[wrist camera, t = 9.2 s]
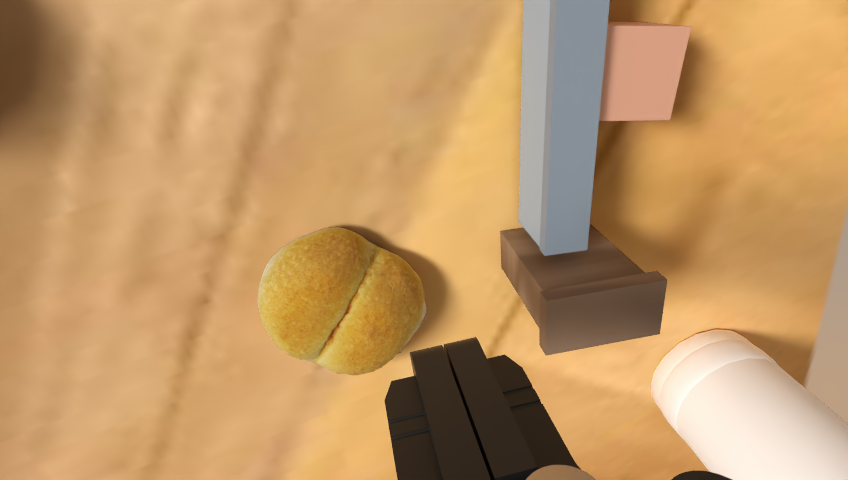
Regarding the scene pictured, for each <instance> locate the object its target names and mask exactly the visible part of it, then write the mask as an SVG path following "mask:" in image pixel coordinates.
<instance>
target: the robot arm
mask: <svg viewBox="0 0 848 480" xmlns="http://www.w3.org/2000/svg"><path fill="white" fill-rule="evenodd" d="M410 356H411V362H412V367H413V373H414V376H412V377H408V378H403V379H399V380H395V381H391V384H390V387H389V390H388V393H387V395H386V398H385V405H386V411H387V417H388V423H389V430H390V436H391V442H392V448H393V454H394V460H395V466H396V472H397V478H398V480H595V479H594V478H593V477H592V476H591V475H589V474H588V473H586V472H584V471H582V470H581V469H580V468H579V467H578V466H577V464H576V463H575V461H574V460H573V458H572V456H571V454H570V453H569V451H568V449H567V447H566V445H565V444H564V442H563V440H562V438H561V436H560V435H559V433H558V431H557V429H556V427H555V426H554V424H553V422H552V420H551V418H550V417H549V415H548V413H547V411H546V409H545V408H544V406H543V404H541V402H540V399H539V397H538V395H537V393H536V391H535V390H534V389H533V388H532V384H531V383H530V381H529V379H528V377H527V375H526V374H525V372H524V370H523V368H522V367H521V366H519V365H518V364H517V363H515V362H514V361H513V360H511V359H510V358H509V357H507V356H506V355H501V356H497V357H493V358H488V359H487V358H486V356H485V354H484V352H483V350H482V348H481V345H480V343H479V341H478V339H477V338H476V337H474V338H470V339H466V340H461V341H457V342H453V343H448V344H444V348H443V346H442V345H440V346H436V347H431V348H427V349H423V350H418V351H414V352H410ZM672 480H732V479H730V478H727V477H725V476H722V475H720V474H716V473H712V472H707V471H689V472H684V473H681V474H679V475H677V476H675V477H674V478H673V479H672Z"/></svg>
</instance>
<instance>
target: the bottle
mask: <svg viewBox="0 0 848 480" xmlns="http://www.w3.org/2000/svg"><path fill="white" fill-rule="evenodd" d="M650 387H651V393H652V399H653V401H654V402H655V403H656V404H657V406H658V407H659V408H660V409H661V411H662V414H663V415H664V417H665V418H666V420H667V421H668V422H669V423H670V425H671V426H672V427H673V428H674V429H675V431H676V432H677V433H678V434H679V435H680V436H681V438H682V439H683V440H684V441H686V442H687V444H688V445H689V446H690V448H691V449H692V450H693V451H694V453H695V454H696V455H697V456H698V458H699V459H700V460H701V462H702V463H703V464H704V465H705V467H706V468H707V469H708V470H709V472H712V473H716V474H720V475H722V476H725V477H727V478H730V479H732V480H848V424H847V423H846V422H845V421H844V420H843V419H841V418H840V417H839V416H838V415H837V414H836V413H834V412H833V411H832V410H831V409H829V408H828V407H827V406H826V405H825V404H823V403H822V402H821V401H820V400H819V399H817V398H816V397H815V396H814V395H813V394H812V393H810V392H809V391H808V390H807V389H806V388H804V387H803V386H802V385H801V384H800V383H798V382H797V381H796V380H795V379H794V378H792V377H791V376H790V375H789V374H788V373H787V372H785V371H784V370H783V369H782V368H781V367H779V365H778V364H777V362H776V361H774V360H773V359H772V358H771V357H770V356H769V355H768V354H766V353H765V352H764V351H763V350H761V349H760V348H758V347H756V346H754V345H753V344H752V343H751V342H749V341H748V340H747V339H746V338H745V337H743V336H741V335H739V334H737V333H736V332H734V331H732V330H717V329H715V330H711V331H706V332H702V333H698V334H695V335H693V336H691V337H689V338H687V339H686V340H684V341H682V342H680V343H678V344H677V345H676V346H675V347H674V348H673V349H672V350H670V351H669V352H668V353H667V354H666V355H665V356H664V357H663V359H662V360H661V362H660V363H659V365H658V367H657V368H656V370H655V371H654V375H653V378H652V382H651V386H650Z"/></svg>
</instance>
